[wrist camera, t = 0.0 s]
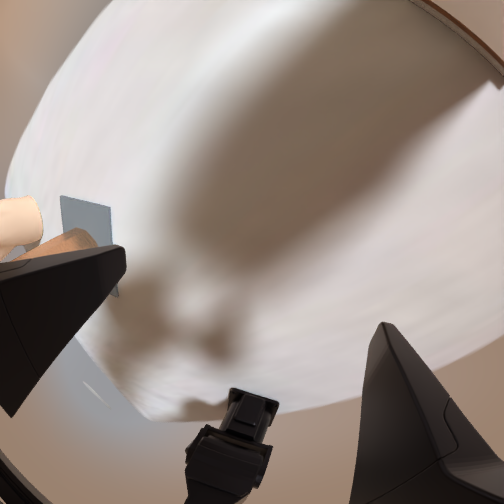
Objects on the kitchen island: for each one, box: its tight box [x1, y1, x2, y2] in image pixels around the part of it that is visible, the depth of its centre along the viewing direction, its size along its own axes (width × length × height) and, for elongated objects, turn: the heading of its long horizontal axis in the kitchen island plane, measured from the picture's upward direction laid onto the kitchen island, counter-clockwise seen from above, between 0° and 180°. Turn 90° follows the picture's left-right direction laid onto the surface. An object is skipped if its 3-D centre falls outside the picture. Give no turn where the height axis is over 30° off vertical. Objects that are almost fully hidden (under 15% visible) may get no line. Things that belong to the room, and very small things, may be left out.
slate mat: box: [60, 195, 118, 297], centre depth 31 cm, size 12×10×1 cm
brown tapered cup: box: [10, 227, 98, 262], centre depth 27 cm, size 8×8×13 cm
